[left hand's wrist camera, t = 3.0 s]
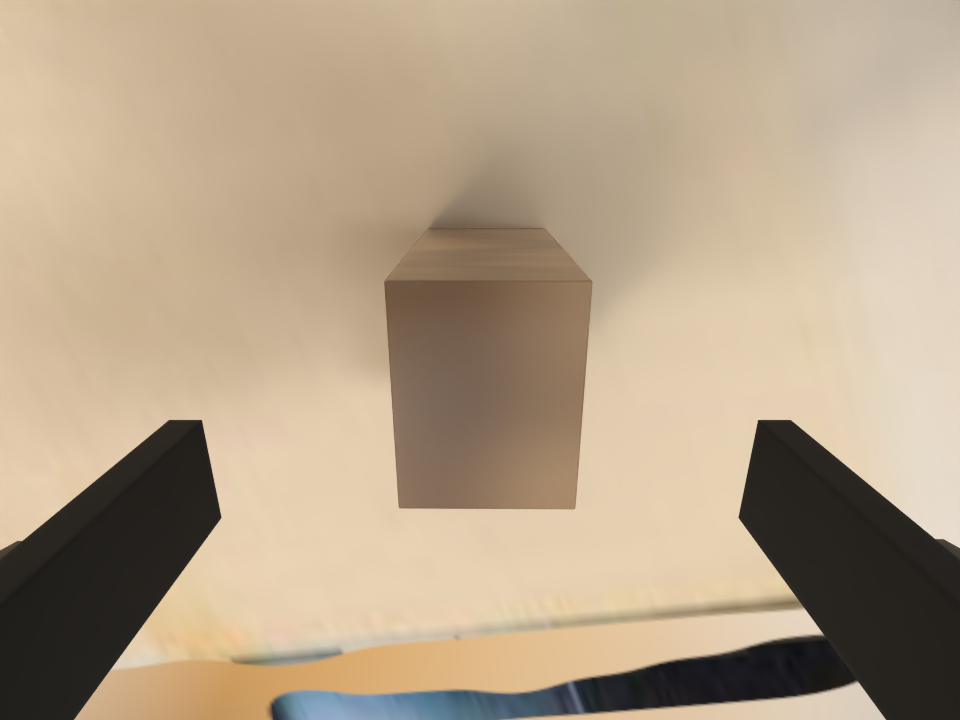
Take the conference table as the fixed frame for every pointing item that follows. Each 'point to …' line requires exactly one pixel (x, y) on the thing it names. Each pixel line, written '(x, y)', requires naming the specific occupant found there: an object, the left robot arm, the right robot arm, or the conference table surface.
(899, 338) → the conference table surface
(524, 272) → the block
